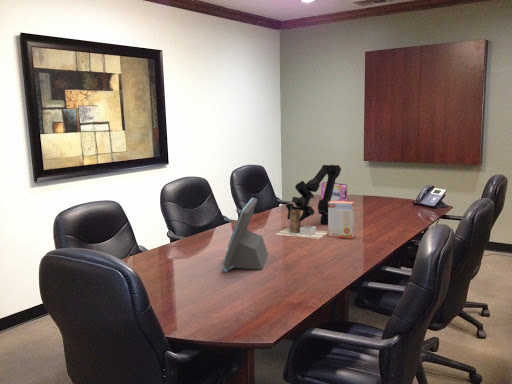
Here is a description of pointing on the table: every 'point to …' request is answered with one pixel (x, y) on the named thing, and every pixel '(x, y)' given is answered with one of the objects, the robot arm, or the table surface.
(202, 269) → the table surface
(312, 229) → the sleeve
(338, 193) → the gum box
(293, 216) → the walnut block
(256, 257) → the touchscreen device
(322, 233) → the board
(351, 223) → the cracker box
